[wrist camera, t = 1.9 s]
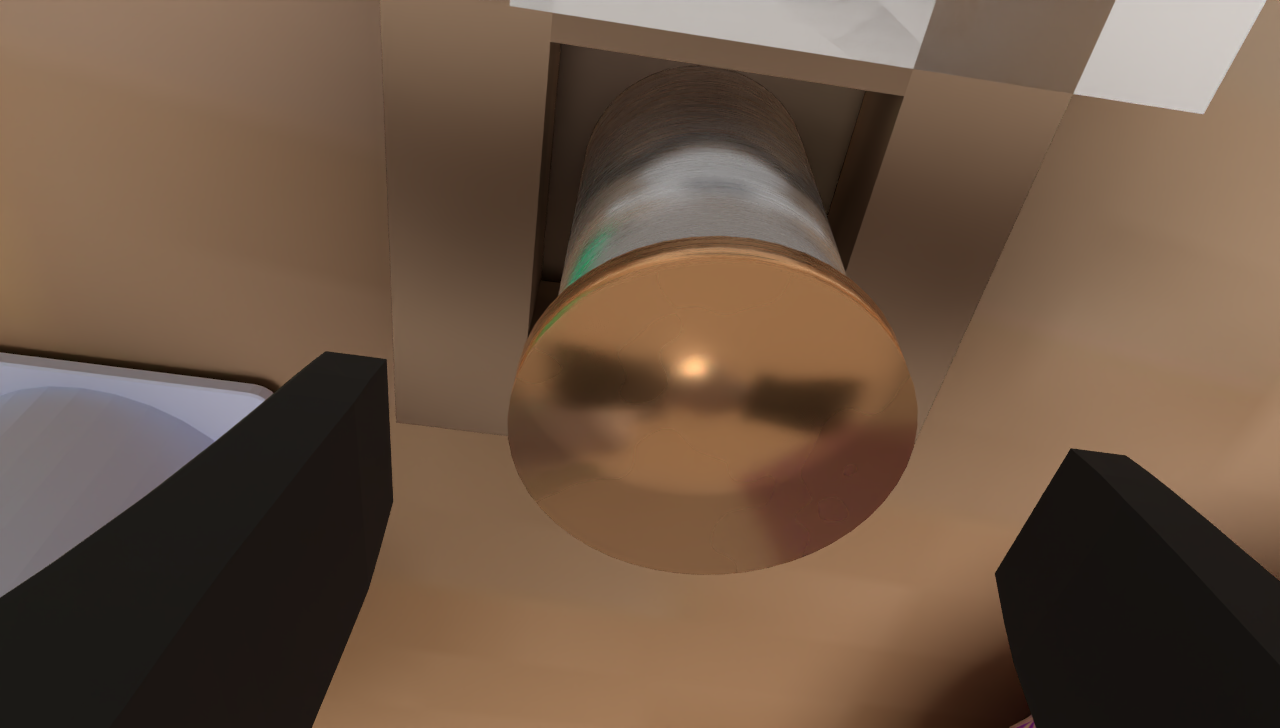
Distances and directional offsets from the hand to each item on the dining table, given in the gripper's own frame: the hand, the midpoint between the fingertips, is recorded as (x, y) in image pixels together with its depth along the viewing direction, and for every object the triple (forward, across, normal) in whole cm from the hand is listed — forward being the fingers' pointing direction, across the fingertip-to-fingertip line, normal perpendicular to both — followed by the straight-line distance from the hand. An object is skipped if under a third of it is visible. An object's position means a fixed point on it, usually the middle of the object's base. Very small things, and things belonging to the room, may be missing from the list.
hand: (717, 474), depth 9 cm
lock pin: (+8, 0, 0) cm, 8 cm away
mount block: (+8, 0, 0) cm, 8 cm away
